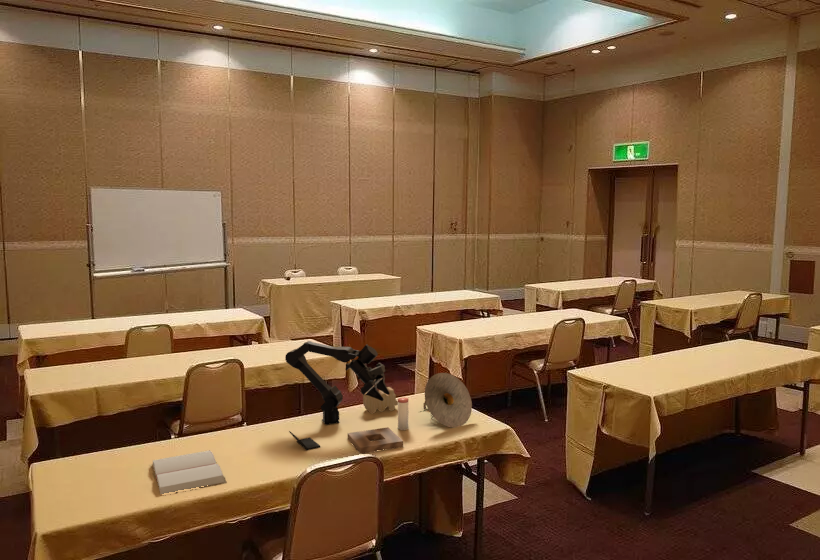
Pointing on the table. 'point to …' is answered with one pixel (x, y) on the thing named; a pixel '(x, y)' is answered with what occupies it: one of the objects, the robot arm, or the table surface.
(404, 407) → the post
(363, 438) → the jig plate
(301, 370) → the robot arm
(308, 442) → the black spatula
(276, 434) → the table surface
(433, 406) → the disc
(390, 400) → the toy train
